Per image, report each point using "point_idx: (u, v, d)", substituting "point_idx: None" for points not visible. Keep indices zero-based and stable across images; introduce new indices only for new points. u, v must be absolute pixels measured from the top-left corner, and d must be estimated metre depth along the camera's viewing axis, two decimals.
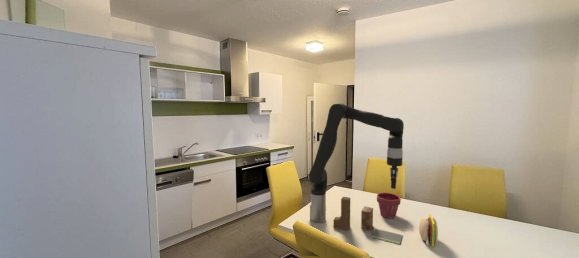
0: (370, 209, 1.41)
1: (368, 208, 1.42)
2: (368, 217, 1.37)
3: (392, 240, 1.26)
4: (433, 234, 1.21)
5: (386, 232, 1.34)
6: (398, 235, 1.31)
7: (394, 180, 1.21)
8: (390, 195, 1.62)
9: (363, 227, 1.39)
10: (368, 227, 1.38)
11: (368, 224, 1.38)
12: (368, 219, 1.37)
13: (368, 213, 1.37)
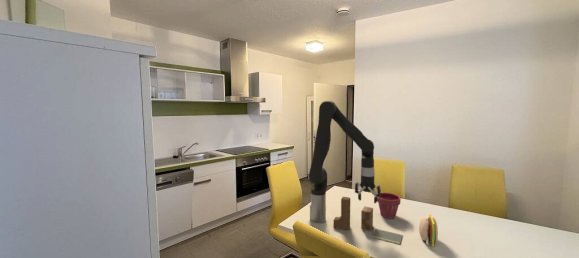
0: (370, 209, 1.41)
1: (368, 208, 1.42)
2: (368, 217, 1.37)
3: (392, 240, 1.26)
4: (433, 234, 1.21)
5: (386, 232, 1.34)
6: (398, 235, 1.31)
7: (380, 194, 1.37)
8: (390, 195, 1.62)
9: (363, 227, 1.39)
10: (368, 227, 1.38)
11: (368, 224, 1.38)
12: (368, 219, 1.37)
13: (368, 213, 1.37)
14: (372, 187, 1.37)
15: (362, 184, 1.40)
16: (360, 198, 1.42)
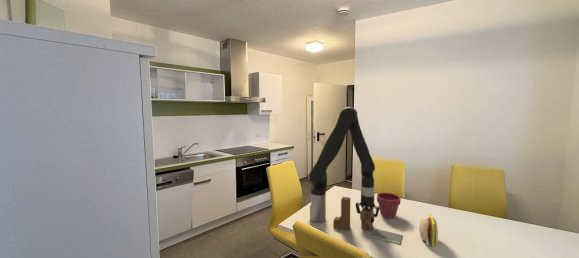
0: None
1: None
2: (368, 217, 1.37)
3: (392, 240, 1.26)
4: (433, 234, 1.21)
5: (386, 232, 1.34)
6: (398, 235, 1.31)
7: (377, 215, 1.39)
8: (390, 195, 1.62)
9: (363, 227, 1.39)
10: (368, 227, 1.38)
11: (368, 223, 1.38)
12: (368, 219, 1.38)
13: (368, 213, 1.37)
14: (372, 207, 1.38)
15: (362, 203, 1.41)
16: None
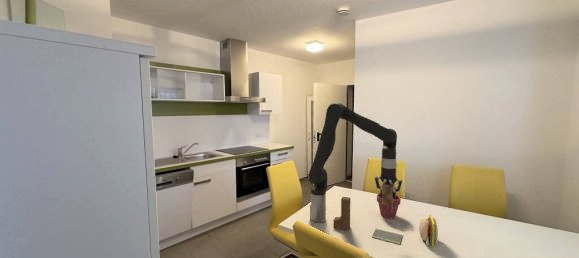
0: None
1: None
2: (390, 191, 1.25)
3: (392, 240, 1.26)
4: (433, 234, 1.21)
5: (386, 232, 1.34)
6: (398, 235, 1.31)
7: (399, 189, 1.27)
8: None
9: (384, 203, 1.27)
10: (389, 202, 1.26)
11: (389, 198, 1.26)
12: (390, 193, 1.25)
13: (390, 187, 1.25)
14: (394, 181, 1.26)
15: (382, 177, 1.29)
16: None
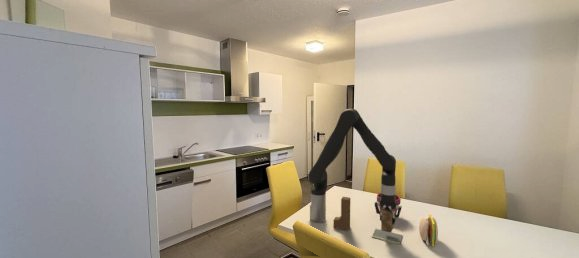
0: None
1: None
2: (389, 217, 1.26)
3: (392, 240, 1.26)
4: (433, 234, 1.21)
5: (386, 232, 1.34)
6: (398, 235, 1.31)
7: None
8: None
9: (383, 228, 1.28)
10: (389, 228, 1.27)
11: (389, 225, 1.27)
12: (389, 220, 1.27)
13: (389, 213, 1.26)
14: (393, 207, 1.27)
15: (382, 202, 1.30)
16: None
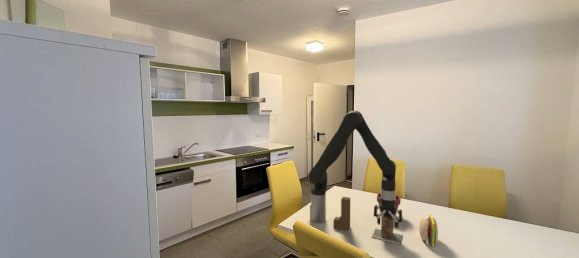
0: (391, 216, 1.30)
1: None
2: (389, 225, 1.27)
3: (392, 240, 1.26)
4: (433, 234, 1.21)
5: None
6: (398, 235, 1.31)
7: (401, 219, 1.27)
8: None
9: (383, 235, 1.29)
10: (389, 235, 1.27)
11: (388, 232, 1.27)
12: (389, 227, 1.27)
13: (389, 220, 1.27)
14: (393, 211, 1.28)
15: (382, 207, 1.30)
16: (379, 222, 1.32)
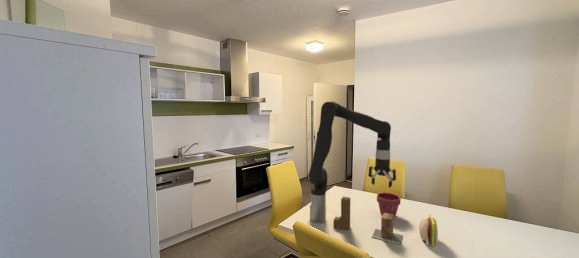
0: (391, 216, 1.30)
1: (388, 215, 1.32)
2: (389, 225, 1.27)
3: (392, 240, 1.26)
4: (433, 234, 1.21)
5: None
6: (398, 235, 1.31)
7: (395, 178, 1.31)
8: (390, 195, 1.62)
9: (383, 235, 1.29)
10: (389, 235, 1.27)
11: (388, 232, 1.27)
12: (389, 227, 1.27)
13: (389, 220, 1.27)
14: (387, 171, 1.31)
15: (376, 167, 1.34)
16: (374, 182, 1.36)
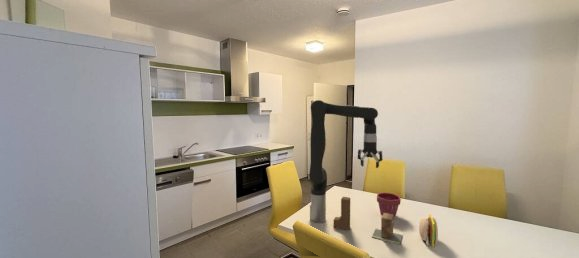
0: (391, 216, 1.30)
1: (388, 215, 1.32)
2: (389, 225, 1.27)
3: (392, 240, 1.26)
4: (433, 234, 1.21)
5: None
6: (398, 235, 1.31)
7: (382, 159, 1.43)
8: (390, 195, 1.62)
9: (383, 235, 1.29)
10: (389, 235, 1.27)
11: (388, 232, 1.27)
12: (389, 227, 1.27)
13: (389, 220, 1.27)
14: (374, 152, 1.44)
15: (365, 150, 1.47)
16: (362, 164, 1.48)
